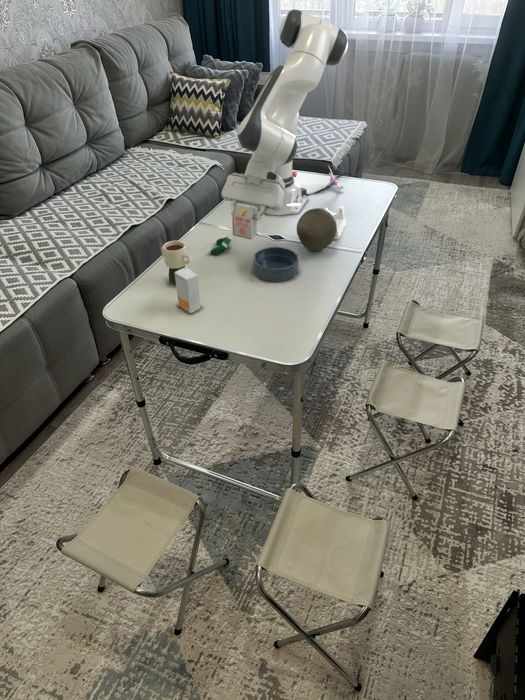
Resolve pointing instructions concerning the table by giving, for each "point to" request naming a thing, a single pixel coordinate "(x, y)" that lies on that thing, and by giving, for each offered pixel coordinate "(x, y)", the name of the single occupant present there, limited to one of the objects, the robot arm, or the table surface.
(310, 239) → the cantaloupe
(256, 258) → the bowl
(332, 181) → the lily
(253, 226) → the white printed carton
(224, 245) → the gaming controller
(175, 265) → the character mug
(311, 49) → the robot arm
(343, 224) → the bracket
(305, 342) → the table surface
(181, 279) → the cosmetic box
